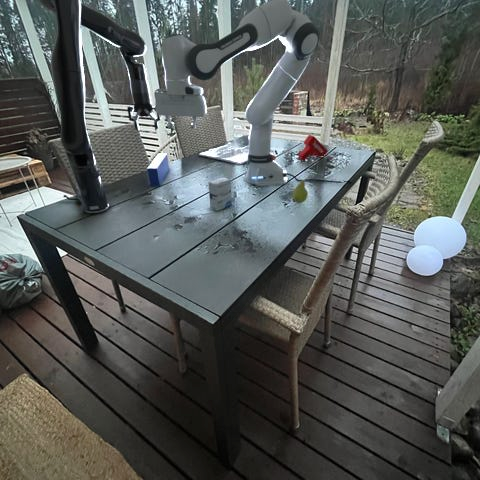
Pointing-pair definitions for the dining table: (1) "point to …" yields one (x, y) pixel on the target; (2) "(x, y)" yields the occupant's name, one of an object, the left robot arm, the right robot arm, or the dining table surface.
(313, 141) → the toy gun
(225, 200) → the ink box
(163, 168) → the bar
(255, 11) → the right robot arm
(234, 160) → the relief map
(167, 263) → the dining table surface
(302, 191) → the fruit
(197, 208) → the dining table surface
